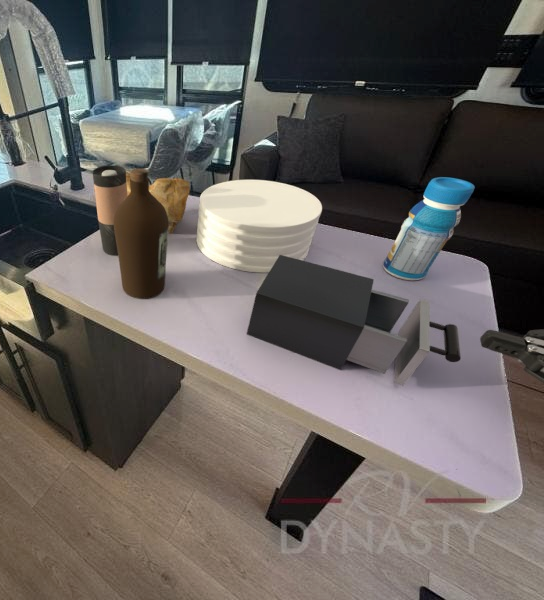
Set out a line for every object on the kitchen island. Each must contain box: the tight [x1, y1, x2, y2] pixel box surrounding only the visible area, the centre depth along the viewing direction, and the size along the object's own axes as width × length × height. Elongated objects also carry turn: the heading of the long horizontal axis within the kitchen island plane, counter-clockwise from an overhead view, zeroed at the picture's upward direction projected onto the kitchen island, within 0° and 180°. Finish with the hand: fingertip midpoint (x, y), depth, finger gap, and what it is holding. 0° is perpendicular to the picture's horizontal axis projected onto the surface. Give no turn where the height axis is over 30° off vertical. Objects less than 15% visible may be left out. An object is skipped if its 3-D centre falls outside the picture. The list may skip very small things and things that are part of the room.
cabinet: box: [246, 255, 375, 371], centre depth 58 cm, size 16×14×10 cm
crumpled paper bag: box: [126, 171, 191, 234], centre depth 93 cm, size 23×17×15 cm
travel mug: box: [92, 164, 128, 256], centre depth 79 cm, size 8×8×20 cm
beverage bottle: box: [382, 176, 476, 281], centre depth 68 cm, size 8×8×20 cm
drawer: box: [346, 289, 461, 387], centre depth 53 cm, size 19×13×8 cm, turn 57°
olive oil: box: [114, 168, 169, 300], centre depth 65 cm, size 11×11×25 cm
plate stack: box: [196, 179, 323, 273], centre depth 82 cm, size 28×28×12 cm
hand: (484, 337), depth 46 cm, fingers closed
